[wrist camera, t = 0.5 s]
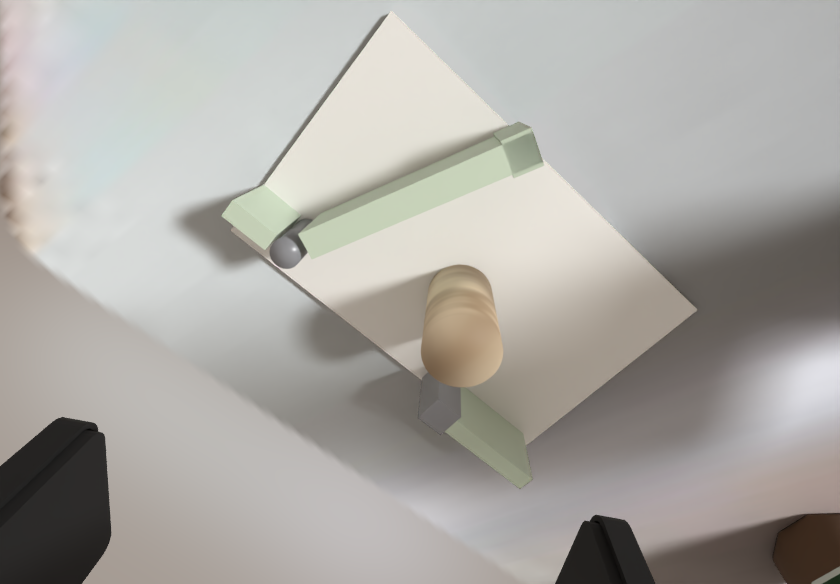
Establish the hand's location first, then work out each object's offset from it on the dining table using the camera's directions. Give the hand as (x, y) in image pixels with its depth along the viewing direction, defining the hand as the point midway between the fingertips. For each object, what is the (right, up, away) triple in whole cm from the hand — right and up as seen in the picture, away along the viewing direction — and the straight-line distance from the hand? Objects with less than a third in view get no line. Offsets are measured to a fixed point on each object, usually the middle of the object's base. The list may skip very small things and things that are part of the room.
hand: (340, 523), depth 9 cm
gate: (+2, +11, +21) cm, 24 cm away
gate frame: (+5, +6, +24) cm, 25 cm away
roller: (+4, +4, +24) cm, 25 cm away
